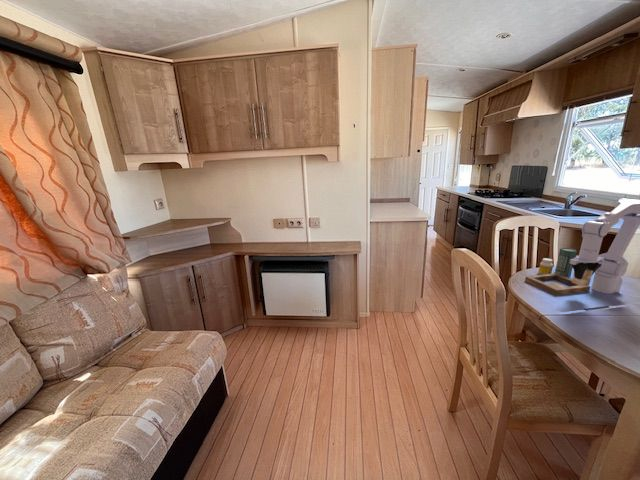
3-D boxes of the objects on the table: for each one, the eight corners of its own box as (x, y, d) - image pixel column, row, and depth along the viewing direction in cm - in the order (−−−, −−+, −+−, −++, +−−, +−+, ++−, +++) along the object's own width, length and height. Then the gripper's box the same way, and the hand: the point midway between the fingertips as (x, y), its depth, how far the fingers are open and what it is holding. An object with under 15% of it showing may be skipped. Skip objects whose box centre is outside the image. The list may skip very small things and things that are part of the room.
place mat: (580, 295, 121) (581, 294, 120) (609, 307, 110) (609, 306, 110) (560, 297, 119) (560, 297, 119) (586, 310, 109) (587, 309, 109)
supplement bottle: (540, 272, 146) (543, 256, 143) (552, 275, 141) (555, 259, 139) (536, 275, 143) (539, 259, 140) (548, 278, 139) (552, 261, 136)
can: (572, 277, 139) (579, 250, 135) (564, 278, 138) (570, 251, 134) (560, 272, 145) (566, 247, 141) (551, 274, 143) (557, 248, 139)
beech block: (579, 281, 118) (583, 267, 116) (589, 285, 114) (593, 270, 112) (571, 282, 118) (575, 268, 116) (581, 286, 114) (584, 271, 112)
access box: (554, 279, 137) (556, 273, 136) (588, 293, 122) (590, 286, 121) (524, 282, 135) (525, 276, 134) (555, 297, 120) (556, 290, 119)
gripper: (594, 245, 116) (586, 273, 120) (565, 247, 114) (558, 275, 118) (613, 249, 109) (604, 279, 113) (582, 252, 107) (575, 282, 111)
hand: (582, 278), depth 115 cm, fingers closed on beech block, 4 cm apart
